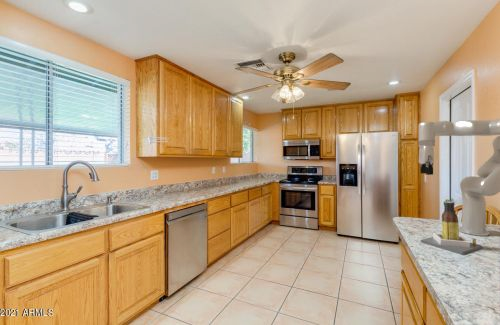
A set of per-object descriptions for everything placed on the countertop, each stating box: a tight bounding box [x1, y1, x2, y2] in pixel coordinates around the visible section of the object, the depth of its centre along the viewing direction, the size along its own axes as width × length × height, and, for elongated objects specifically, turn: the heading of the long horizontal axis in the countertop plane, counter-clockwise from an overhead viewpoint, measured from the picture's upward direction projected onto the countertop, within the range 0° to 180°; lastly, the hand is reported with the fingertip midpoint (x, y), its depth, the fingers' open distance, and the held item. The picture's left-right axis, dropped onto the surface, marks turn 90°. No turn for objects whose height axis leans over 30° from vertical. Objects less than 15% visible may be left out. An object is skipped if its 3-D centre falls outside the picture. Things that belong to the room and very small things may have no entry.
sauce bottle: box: [441, 200, 460, 241], centre depth 115 cm, size 6×6×20 cm
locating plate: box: [420, 232, 483, 255], centre depth 115 cm, size 17×17×4 cm
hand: (426, 174), depth 134 cm, fingers open, 9 cm apart
